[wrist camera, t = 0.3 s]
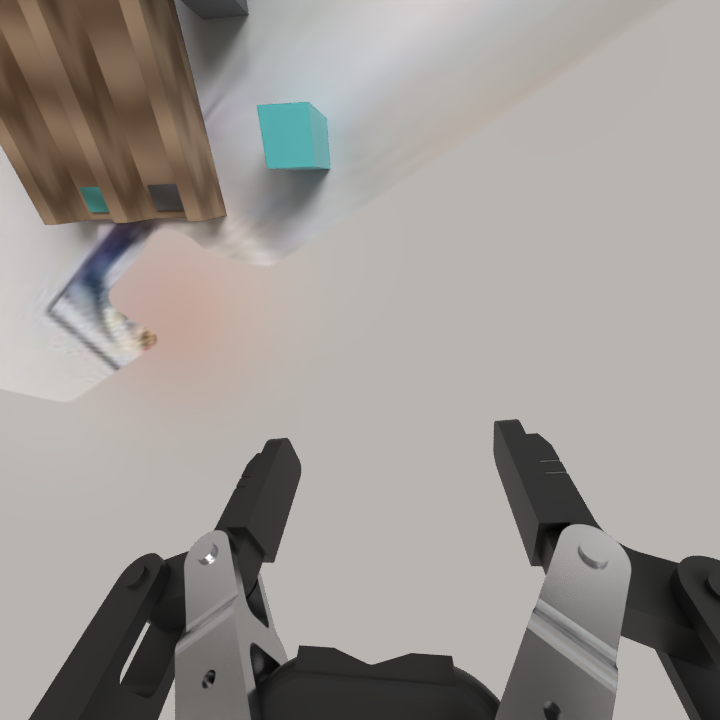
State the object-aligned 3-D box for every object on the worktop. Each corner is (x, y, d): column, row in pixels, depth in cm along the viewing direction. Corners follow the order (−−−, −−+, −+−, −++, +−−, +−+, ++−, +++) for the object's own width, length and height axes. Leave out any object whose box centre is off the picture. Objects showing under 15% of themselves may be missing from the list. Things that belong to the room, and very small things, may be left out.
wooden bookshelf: (-40, -48, 24) (-133, -96, 20) (155, -74, 22) (100, -133, 18) (87, 219, 35) (44, 224, 30) (226, 215, 33) (202, 220, 29)
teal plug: (285, 120, 28) (256, 105, 22) (326, 118, 28) (308, 101, 22) (292, 170, 30) (267, 168, 24) (330, 168, 30) (314, 166, 24)
